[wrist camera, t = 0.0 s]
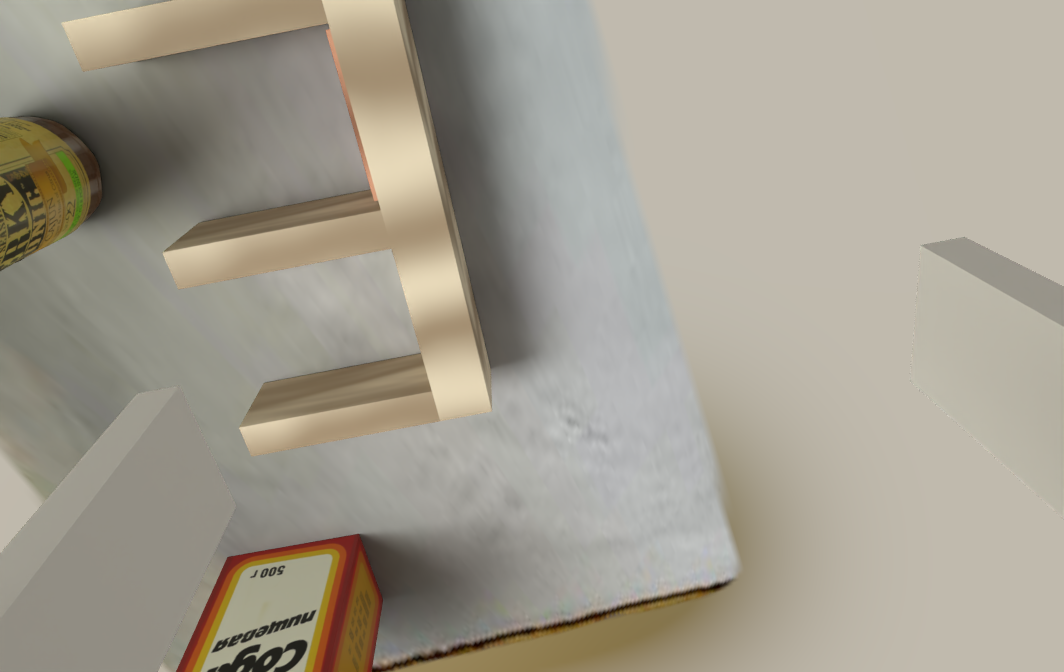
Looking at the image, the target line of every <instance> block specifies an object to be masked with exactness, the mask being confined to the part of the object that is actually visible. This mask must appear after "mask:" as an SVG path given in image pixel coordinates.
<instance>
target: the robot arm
mask: <svg viewBox="0 0 1064 672" xmlns="http://www.w3.org/2000/svg"><path fill="white" fill-rule="evenodd" d="M910 382H911V383H912V384H914V385H915V386H916V387H917V388H918V389H919V390H920V391H921V392H922V393H924V394H925V395H926V396H927V397H928V398H929V399H930V400H931V401H932V402H934V403H935V404H936V405H937V406H938V407H939V408H940V409H941V410H942V411H944V412H945V413H946V414H947V415H948V416H949V417H950V418H951V419H953V420H954V421H955V422H956V423H957V424H958V425H959V426H960V427H961V428H963V429H964V430H965V431H966V432H967V433H968V434H969V435H970V436H971V437H972V438H974V439H975V440H976V441H977V442H978V443H979V444H980V445H981V446H982V447H984V448H985V449H986V450H987V451H988V452H989V453H990V454H991V455H992V456H994V457H995V458H996V459H997V460H998V461H999V462H1000V463H1001V464H1002V465H1004V466H1005V467H1006V468H1007V469H1008V470H1009V471H1010V472H1011V473H1013V474H1014V475H1015V476H1016V477H1017V478H1018V479H1019V480H1020V481H1022V482H1023V483H1024V484H1025V485H1026V486H1027V487H1028V488H1029V489H1030V490H1031V491H1032V492H1034V493H1035V494H1036V495H1037V496H1038V497H1039V498H1041V500H1043V501H1044V502H1045V503H1046V504H1047V505H1048V506H1049V507H1050V508H1052V509H1053V510H1054V511H1055V512H1056V513H1057V514H1058V515H1059V516H1060V517H1061V518H1063V519H1064V286H1062V285H1059V284H1058V283H1056V282H1054V281H1052V280H1050V279H1048V278H1046V277H1043V276H1041V275H1040V274H1037V273H1036V272H1034V271H1031V270H1029V269H1028V268H1025V267H1023V266H1022V265H1020V264H1018V263H1016V262H1014V261H1011V260H1010V259H1008V258H1006V257H1003V256H1002V255H999V254H998V253H995V252H993V251H991V250H989V249H988V248H985V247H983V246H981V245H980V244H978V243H975V242H974V241H971V240H969V239H967V238H965V237H962V238H956V239H952V240H946V241H941V242H935V243H930V244H925V245H921V246H920V258H919V270H918V283H917V297H916V309H915V322H914V335H913V348H912V361H911V374H910ZM235 508H236V505H235V503H234V500H233V498H232V496H231V494H230V492H229V490H228V488H227V486H226V483H225V481H224V479H223V477H222V475H221V473H220V471H219V468H218V466H217V464H216V462H215V460H214V458H213V456H212V454H211V451H210V449H209V447H208V445H207V443H206V441H205V439H204V436H203V434H202V432H201V430H200V428H199V426H198V424H197V422H196V419H195V417H194V415H193V413H192V411H191V409H190V407H189V404H188V402H187V400H186V398H185V396H184V394H183V392H182V390H181V387H180V386H175V387H170V388H164V389H159V390H154V391H148V392H143V393H138V394H137V395H136V396H135V397H134V398H133V399H132V400H131V402H130V403H129V404H128V405H127V406H126V407H125V409H124V410H123V411H122V412H121V413H120V414H119V415H118V417H117V418H116V419H115V420H114V421H113V422H112V424H111V425H110V426H109V427H108V428H107V429H106V431H105V432H104V433H103V434H102V435H101V436H100V438H99V439H98V440H97V441H96V442H95V443H94V445H93V446H92V447H91V448H90V449H89V450H88V452H87V453H86V454H85V455H84V456H83V457H82V459H81V460H80V461H79V462H78V463H77V464H76V466H75V467H74V468H73V469H72V470H71V471H70V473H69V474H68V475H67V476H66V477H65V478H64V480H63V481H62V482H61V483H60V484H59V485H58V487H57V488H56V489H55V490H54V491H53V492H52V494H51V495H50V496H49V497H48V498H47V499H46V501H45V502H44V503H43V504H42V505H41V506H40V507H39V509H38V510H37V511H36V512H35V513H34V514H33V516H32V517H31V518H30V519H29V520H28V521H27V523H26V524H25V525H24V526H23V527H22V528H21V530H20V531H19V532H18V533H17V534H16V536H15V537H14V538H13V539H12V540H11V541H10V542H9V544H8V545H7V546H6V547H5V548H4V549H3V551H2V552H1V553H0V672H158V670H159V668H160V666H161V664H162V662H163V660H164V658H165V656H166V653H167V651H168V649H169V647H170V645H171V643H172V641H173V639H174V637H175V635H176V632H177V630H178V628H179V626H180V624H181V622H182V620H183V618H184V616H185V613H186V611H187V609H188V607H189V605H190V603H191V601H192V599H193V597H194V595H195V592H196V590H197V588H198V586H199V584H200V582H201V580H202V578H203V576H204V574H205V571H206V569H207V567H208V565H209V563H210V561H211V559H212V557H213V555H214V553H215V550H216V548H217V546H218V544H219V542H220V540H221V538H222V536H223V534H224V531H225V529H226V527H227V525H228V523H229V521H230V519H231V517H232V515H233V513H234V510H235Z"/></svg>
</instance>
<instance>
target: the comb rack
mask: <svg viewBox="0 0 1064 672" xmlns="http://www.w3.org/2000/svg"><path fill="white" fill-rule="evenodd" d="M323 24H329V28H330V29H328V30H326V34H327V37H328V41H329V44H330V48H331V51H332V55H333V58H334V62H335V65H336V69H337V72H338V76H339V79H340V83H341V86H342V90H343V93H344V97H345V100H346V104H347V107H348V111H349V114H350V118H351V121H352V125H353V129H354V132H355V136H356V139H357V143H358V146H359V150H360V153H361V157H362V160H363V164H364V167H365V171H366V174H367V178H368V181H369V185H370V188H371V190H366V191H361V192H356V193H350V194H345V195H340V196H335V197H330V198H325V199H319V200H314V201H309V202H304V203H299V204H294V205H288V206H283V207H278V208H273V209H268V210H263V211H257V212H252V213H247V214H242V215H237V216H232V217H227V218H221V219H216V220H211V221H206V222H201V223H198V224H197V225H196V226H194V227H193V228H192V229H191V230H189V231H188V232H187V233H186V234H185V235H183V236H182V237H181V238H180V239H178V240H177V241H176V242H175V243H173V244H172V245H171V246H170V247H168V248H167V249H166V250H165V251H164V252H162V253H163V255H164V258H165V260H166V262H167V265H168V267H169V269H170V271H171V274H172V276H173V278H174V280H175V283H176V285H177V287H178V289H184V288H189V287H194V286H199V285H204V284H210V283H215V282H220V281H225V280H230V279H236V278H241V277H246V276H251V275H256V274H262V273H267V272H272V271H277V270H282V269H288V268H293V267H298V266H303V265H308V264H314V263H319V262H324V261H329V260H334V259H340V258H345V257H350V256H355V255H360V254H366V253H371V252H376V251H381V250H386V249H392V252H393V255H394V259H395V262H396V266H397V269H398V273H399V276H400V280H401V284H402V287H403V291H404V294H405V298H406V301H407V305H408V308H409V312H410V316H411V319H412V323H413V326H414V330H415V333H416V337H417V340H418V344H419V347H420V351H421V353H420V354H415V355H410V356H405V357H399V358H394V359H389V360H383V361H378V362H373V363H368V364H362V365H357V366H352V367H347V368H341V369H336V370H331V371H325V372H320V373H315V374H310V375H304V376H299V377H294V378H288V379H283V380H278V381H273V382H267V383H264V384H263V386H262V387H261V389H260V391H259V393H258V395H257V396H256V398H255V400H254V402H253V404H252V405H251V407H250V409H249V411H248V413H247V414H246V416H245V418H244V420H243V421H242V423H241V425H240V427H239V429H240V431H241V433H242V436H243V438H244V440H245V443H246V445H247V447H248V449H249V452H250V454H251V456H257V455H262V454H267V453H273V452H278V451H283V450H289V449H294V448H299V447H305V446H310V445H315V444H321V443H326V442H331V441H337V440H342V439H347V438H353V437H358V436H363V435H369V434H374V433H379V432H385V431H390V430H395V429H401V428H406V427H411V426H417V425H422V424H427V423H433V422H438V421H443V420H449V419H454V418H459V417H465V416H470V415H475V414H481V413H486V412H491V411H492V395H491V368H490V364H489V359H488V355H487V351H486V347H485V342H484V338H483V334H482V329H481V325H480V321H479V317H478V312H477V308H476V304H475V300H474V295H473V291H472V287H471V282H470V278H469V274H468V270H467V265H466V261H465V257H464V252H463V248H462V244H461V240H460V235H459V231H458V227H457V222H456V218H455V214H454V210H453V205H452V201H451V197H450V192H449V188H448V184H447V180H446V175H445V171H444V167H443V162H442V158H441V154H440V150H439V145H438V141H437V137H436V132H435V128H434V124H433V120H432V115H431V111H430V107H429V103H428V98H427V94H426V90H425V85H424V81H423V77H422V73H421V68H420V64H419V60H418V55H417V51H416V47H415V43H414V38H413V34H412V30H411V25H410V21H409V17H408V13H407V8H406V4H405V0H172V1H167V2H162V3H157V4H152V5H147V6H142V7H137V8H132V9H127V10H122V11H117V12H112V13H107V14H102V15H97V16H92V17H87V18H82V19H77V20H72V21H67V22H62V25H63V27H64V29H65V32H66V34H67V36H68V39H69V41H70V43H71V45H72V48H73V50H74V52H75V55H76V57H77V59H78V61H79V64H80V66H81V68H82V71H83V72H85V71H90V70H95V69H100V68H105V67H110V66H116V65H121V64H126V63H131V62H136V61H141V60H146V59H151V58H156V57H161V56H167V55H172V54H177V53H182V52H187V51H192V50H197V49H202V48H207V47H212V46H217V45H222V44H227V43H232V42H237V41H242V40H247V39H252V38H257V37H262V36H267V35H272V34H277V33H283V32H288V31H293V30H298V29H303V28H308V27H313V26H318V25H323Z"/></svg>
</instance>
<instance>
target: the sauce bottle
mask: <svg viewBox="0 0 1064 672" xmlns="http://www.w3.org/2000/svg"><path fill="white" fill-rule="evenodd" d="M101 198H102V184H101V175H100V170H99V164H98V162H97V160H96V158H95V156H94V155H93V154H92V152H91V151H90V150H89V149H88V148H87V146H86V145H85V144H84V143H83V142H82V141H81V140H80V139H79V138H78V137H77V136H76V135H74V134H73V133H72V132H71V131H70V130H68V129H67V128H66V127H64V126H63V125H61V124H59V123H57V122H55V121H52V120H48V119H43V118H37V117H8V118H0V271H1V270H3V269H5V268H6V267H8V266H10V265H12V264H14V263H16V262H18V261H21V260H22V259H24V258H25V257H27V256H29V255H31V254H33V253H35V252H36V251H38V250H40V249H42V248H44V247H46V246H48V245H50V244H52V243H54V242H56V241H58V240H60V239H62V238H64V237H66V236H67V235H69V234H70V233H72V232H73V231H75V230H76V229H77V228H78V227H79V226H80V225H81V224H82V223H83V222H84V221H86V220H87V219H88V218H89V217H90V215H91V214H92V213H93V212H94V211H95V209H96V208H97V206H98V205H99V204H100V201H101Z"/></svg>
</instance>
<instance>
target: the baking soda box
mask: <svg viewBox="0 0 1064 672" xmlns="http://www.w3.org/2000/svg"><path fill="white" fill-rule="evenodd" d="M382 603H383V599H382V596H381V593H380V590H379V588H378V585H377V582H376V579H375V577H374V574H373V571H372V568H371V566H370V563H369V560H368V557H367V555H366V552H365V549H364V546H363V544H362V541H361V538H360V535H359V534H356V535H350V536H344V537H339V538H333V539H327V540H322V541H316V542H310V543H305V544H299V545H293V546H288V547H282V548H276V549H271V550H265V551H259V552H254V553H248V554H243V555H237V556H231V557H227V560H226V562H225V564H224V566H223V568H222V571H221V573H220V575H219V577H218V580H217V582H216V584H215V586H214V589H213V591H212V593H211V595H210V597H209V600H208V602H207V604H206V606H205V609H204V611H203V613H202V615H201V617H200V620H199V622H198V624H197V626H196V629H195V631H194V633H193V635H192V638H191V640H190V642H189V644H188V646H187V649H186V651H185V653H184V655H183V658H182V660H181V662H180V664H179V666H178V669H177V671H176V672H371V671H372V665H373V659H374V653H375V646H376V640H377V634H378V628H379V621H380V615H381V609H382Z"/></svg>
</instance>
